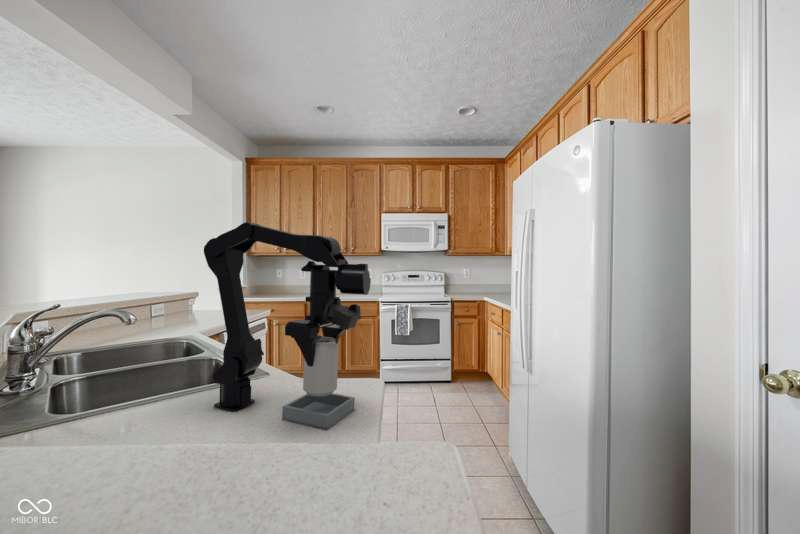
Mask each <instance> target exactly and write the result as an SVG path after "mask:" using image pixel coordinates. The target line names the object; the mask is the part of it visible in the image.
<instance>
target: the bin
mask: <svg viewBox="0 0 800 534" xmlns="http://www.w3.org/2000/svg"><path fill="white" fill-rule="evenodd" d="M355 398H356V397H354V396H348V395H344V394H338V393H334V392H333V393H332V394H330V395H327V396H319V397H318V396H310V395H308V394H307V393H305V394H303V395H301V396H299V397H297V398H295V399H293V400H292V401H290V402H288V403H287V404H284V405H282V411H281V412H282V414H281V415H282V416H281V418H282V419H281V420H282V421H285V422H290V423H294V424H297V425H302V426H307V427H310V428H311V427H312V428H315V429H319V430H324V431H328V430H330V429H331V428H332V427H334V426H335V425H337V424H338V423H339V422H341V421H343V419H345V418H346V417H347V416H348V415H350V414H351V413H353V412H355V404H356V403H355V401H356V400H355Z"/></svg>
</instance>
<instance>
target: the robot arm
mask: <svg viewBox="0 0 800 534" xmlns="http://www.w3.org/2000/svg"><path fill="white" fill-rule="evenodd" d="M257 242H258V243H263V244H266V245H270V246H271V245H272V246H275V247H280V248H282V249H287V250H291V251H294V252H295V253H298V254H299V255H301V256H302V257H305V258H307V259H309V261H307V263H306V264H305V265H304V266H303V267H301V268H300V270H301V272H305V273H307V272H309V273H310V276H309V277H310V281H309V296H305V302H307V303H308V302H309V304H308V305H309V312H308V314H305V315H304V319H294V320H290V321H288V322H287V323H286V324H285V325H284V335H285V336H288V337H290V338H292V339H294V341H295V343H296V344H297V346H298V348H299V350H300V352H301V354H302V357H303V360H304V359H305V361H306V363H307V365H308V366H311V367H312V366H313V363H314V356H315V347H316V342H317V341H318V340H319V339H320V338H321V337H332V338H335V339H336V341H335V343H336V344H337V345H338V343H339V340H340V337H341V336H342V334H343V333H344V332H346V331H348V330H349V329H352V328H353V329H354V328H355V327H356V324H357V322H358V321H359V320H361V319H362V316H361V314H362V312H361V306H360V305H358V304H356V303H352V304H351V305H350V306H347V305H343V304H341V298H340V296H337V290H339V292H340V293H341V294H343V295H344V294H347V295H361V296H362V295H363V296H365V295H366V296H367V295H369V293H370V289H371V284H372V283H371V280H372V278H371V277H370V271H369V264H367V263H358V264H356V263H353V264H352V263H349V262H348V261H347V259H346V258H345V256H344V254H343V253H342V251H341V245H340V243H339V240H337V239H336V238H334V237H329V236H324V235H313V234H310V235H309V234H297V233H294V232H293V233H292V232H288V231H285V230H281V229H276V228H272V227H268V226H264V225H261V224H259V223H254V222H248V221H245V222H243V223H241V224H240V225H238V226H236V228H233V229H230V230H229V231H226V232H224V233H222V234H219V235H218V236H217V237H213V238H210V239H209V240H207V242H206V244H205V245H204V247H203V254H204V258H205V260H206V264H207V266H208V268H209V270H211V271H212V274H214V275H215V278H216V279H217V286H218V292H219V296H220V301H221V308H222V314H223V320H224V326H225V330H226V338H227V339H226V343H225V346H224V348H223V353H222V356H223V357H222V358H223V363H222V365H221V366H220V367H219V368H217V369H216V370H215V371H214V372H213V374H212V379H213V382H214V384H217V385H219V402H216V403H214V404H213V407H214V408H218V409H222V410H227V411H230V412H236V411H238V410H240V409H243V408H245V407H247V406H249V405H251V404H254V403H255V401H256V400H255V399H252V385H251V378H250V377H251V376H253V375H255V374H256V371H257V368H258V367H260V365H261V364H262V361H263V356H264V355H265V353H264V351H263V349H262V348H263V347H262V340H261V338H258V339H255V338H254V336H253V335H252V333H251V332H250V326H249V321H248V315H247V309H246V304H245V298H244V293H243V292H244V291H243V286H242V281H241V280H242V279H241V271H242V268H243V266H244V255H245V254H246V253H247V252H249V251H250V250H251V249H252V248H253V246H254V245H255V244H256V243H257ZM316 262H317V263H322V264H317V263H316ZM330 268H337V269H330ZM320 329H321V331H322V335H323V336H322V335H319V333H320Z"/></svg>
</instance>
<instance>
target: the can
mask: <svg viewBox="0 0 800 534" xmlns="http://www.w3.org/2000/svg"><path fill="white" fill-rule="evenodd" d="M335 341H336V339H335V338H332V337H323V336H322V337H321V338H320V339H319V340H318V341H317V342H316V347H315V356H314V363H313V366H312V367H311V366H308V365H307V363H306V361H305V359H304V358H303V375H302V377H303V381H302V383H303V384H302V390H303V391H304V392H305V394H308V395H310V396H318V397H319V396H327V395H330V394H332V393H333V394H334V392H335V391H336V390H337V389H338V369H339V368H338V367H339V364H338V363H339V345H338V343H337V344H336V343H335Z"/></svg>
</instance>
